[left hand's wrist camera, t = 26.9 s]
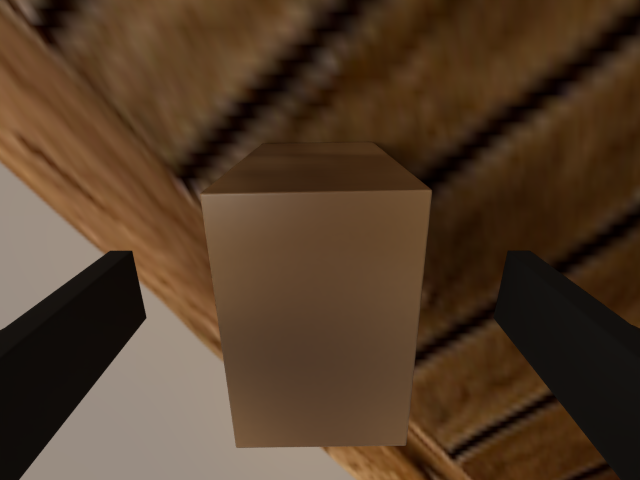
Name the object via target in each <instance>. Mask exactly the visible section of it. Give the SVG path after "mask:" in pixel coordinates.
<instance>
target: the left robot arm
mask: <svg viewBox="0 0 640 480" xmlns="http://www.w3.org/2000/svg"><path fill="white" fill-rule="evenodd" d="M145 319H146V313H145V309H144V304H143V299H142V295H141V290H140V285H139V280H138V276H137V271H136V266H135V262H134V257H133V252H132V251H109V252H108V253H106V254H105V255H104V256H102V257H101V258H100V259H98V260H97V261H95V262H94V263H93V264H91V265H90V266H89V267H87V268H86V269H85V270H83V271H82V272H80V273H79V274H78V275H76V276H75V277H74V278H72V279H71V280H70V281H68V282H67V283H65V284H64V285H63V286H61V287H60V288H59V289H57V290H56V291H54V292H53V293H52V294H50V295H49V296H48V297H46V298H45V299H44V300H42V301H41V302H39V303H38V304H37V305H35V306H34V307H33V308H31V309H30V310H29V311H27V312H26V313H24V314H23V315H22V316H20V317H19V318H18V319H16V320H15V321H14V322H12V323H11V324H9V325H8V326H7V327H5V328H4V329H2V330H0V480H19V479H20V478H21V477H22V475H23V474H24V473H25V472H26V470H27V469H28V468H29V467H30V465H31V464H32V463H33V461H34V460H35V459H36V458H37V456H38V455H39V454H40V453H41V451H42V450H43V449H44V447H45V446H46V445H47V444H48V442H49V441H50V440H51V439H52V437H53V436H54V435H55V433H56V432H57V431H58V430H59V428H60V427H61V426H62V425H63V423H64V422H65V421H66V419H67V418H68V417H69V416H70V414H71V413H72V412H73V411H74V409H75V408H76V407H77V405H78V404H79V403H80V402H81V400H82V399H83V398H84V397H85V395H86V394H87V393H88V392H89V390H90V389H91V388H92V386H93V385H94V384H95V383H96V381H97V380H98V379H99V378H100V376H101V375H102V374H103V372H104V371H105V370H106V369H107V367H108V366H109V365H110V364H111V362H112V361H113V360H114V358H115V357H116V356H117V355H118V353H119V352H120V351H121V350H122V348H123V347H124V346H125V344H126V343H127V342H128V341H129V339H130V338H131V337H132V336H133V334H134V333H135V332H136V331H137V329H138V328H139V327H140V325H141V324H142V323H143V322H144V320H145ZM494 319H495V320H496V322H497V323H498V324H499V325H500V327H501V328H502V329H503V331H504V332H505V333H506V334H507V336H508V337H509V338H510V339H511V341H512V342H513V343H514V344H515V346H516V347H517V348H518V350H519V351H520V352H521V353H522V355H523V356H524V357H525V358H526V360H527V361H528V362H529V364H530V365H531V366H532V367H533V369H534V370H535V371H536V372H537V374H538V375H539V376H540V378H541V379H542V380H543V381H544V383H545V384H546V385H547V386H548V388H549V389H550V390H551V392H552V393H553V394H554V395H555V397H556V398H557V399H558V400H559V402H560V403H561V404H562V406H563V407H564V408H565V409H566V411H567V412H568V413H569V414H570V416H571V417H572V418H573V419H574V421H575V422H576V423H577V425H578V426H579V427H580V428H581V430H582V431H583V432H584V433H585V435H586V436H587V437H588V439H589V440H590V441H591V442H592V444H593V445H594V446H595V447H596V449H597V450H598V451H599V453H600V454H601V455H602V456H603V458H604V459H605V460H606V461H607V463H608V464H609V465H610V467H611V468H612V469H613V470H614V472H615V473H616V474H617V475H618V477H619V478H620V479H621V480H640V328H638V327H636V326H633V325H631V324H629V323H628V322H627V321H625V320H624V319H622V318H621V317H620V316H618V315H617V314H616V313H614V312H613V311H612V310H610V309H609V308H607V307H606V306H605V305H603V304H602V303H601V302H599V301H598V300H596V299H595V298H594V297H592V296H591V295H590V294H588V293H587V292H586V291H584V290H583V289H581V288H580V287H579V286H577V285H576V284H575V283H573V282H572V281H570V280H569V279H568V278H566V277H565V276H564V275H562V274H561V273H560V272H558V271H557V270H555V269H554V268H553V267H551V266H550V265H549V264H547V263H546V262H545V261H543V260H542V259H540V258H539V257H538V256H536V255H535V254H534V253H532V252H531V251H508V252H507V257H506V262H505V266H504V271H503V276H502V280H501V285H500V290H499V295H498V299H497V304H496V309H495V313H494Z"/></svg>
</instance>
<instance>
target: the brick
mask: <svg viewBox="0 0 640 480" xmlns="http://www.w3.org/2000/svg"><path fill="white" fill-rule="evenodd" d="M200 198H201V205H202V212H203V219H204V226H205V233H206V240H207V247H208V254H209V261H210V268H211V275H212V282H213V289H214V296H215V303H216V310H217V317H218V324H219V331H220V338H221V345H222V352H223V359H224V366H225V373H226V380H227V387H228V393H229V401H230V408H231V415H232V422H233V428H234V436H235V443H236V447H237V448H254V447H327V446H398V445H406V441H407V431H408V422H409V412H410V402H411V392H412V383H413V373H414V363H415V354H416V344H417V334H418V324H419V315H420V305H421V295H422V286H423V276H424V266H425V256H426V247H427V237H428V227H429V218H430V208H431V198H432V190H431V189H430V188H429V187H427V186H426V185H425V184H424V183H423V182H421V181H420V180H419V179H418V178H416V177H415V176H414V175H413V174H411V173H410V172H409V171H408V170H406V169H405V168H404V167H403V166H402V165H400V164H399V163H398V162H397V161H395V160H394V159H393V158H392V157H390V156H389V155H388V154H387V153H385V152H384V151H383V150H382V149H380V148H379V147H378V146H377V145H376V144H374V143H373V142H337V143H275V144H262V145H260V146H259V147H258V148H257V149H255V150H254V151H253V152H252V153H250V154H249V155H248V156H247V157H245V158H244V159H243V160H242V161H240V162H239V163H238V164H237V165H235V166H234V167H233V168H232V169H230V170H229V171H228V172H227V173H225V174H224V175H223V176H222V177H221V178H219V179H218V180H217V181H216V182H214V183H213V184H212V185H211V186H209V187H208V188H207V189H206V190H204V191H203V192H202V193H201V194H200Z"/></svg>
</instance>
